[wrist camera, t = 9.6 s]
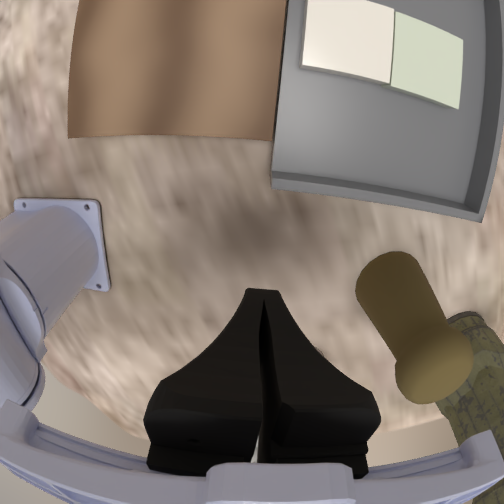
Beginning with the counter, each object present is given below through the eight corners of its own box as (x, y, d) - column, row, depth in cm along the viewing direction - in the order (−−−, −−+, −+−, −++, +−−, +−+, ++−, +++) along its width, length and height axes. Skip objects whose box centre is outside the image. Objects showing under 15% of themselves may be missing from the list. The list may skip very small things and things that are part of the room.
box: (269, 174, 19) (271, 188, 16) (293, -71, 11) (298, -95, 8) (457, 205, 20) (481, 223, 16) (477, -7, 11) (502, -15, 8)
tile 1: (381, 86, 15) (390, 85, 14) (386, 16, 13) (395, 11, 11) (446, 107, 15) (458, 109, 14) (451, 42, 13) (463, 39, 11)
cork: (367, 246, 22) (429, 351, 12) (430, 255, 22) (503, 345, 12) (346, 311, 24) (381, 422, 15) (406, 314, 24) (454, 411, 15)
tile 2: (298, 68, 15) (302, 64, 14) (305, -4, 13) (309, -13, 11) (379, 84, 15) (389, 83, 14) (384, 14, 13) (394, 8, 11)
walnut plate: (86, 133, 18) (67, 138, 16) (106, -36, 12) (91, -47, 9) (270, 137, 18) (271, 141, 16) (289, -49, 12) (292, -65, 10)
